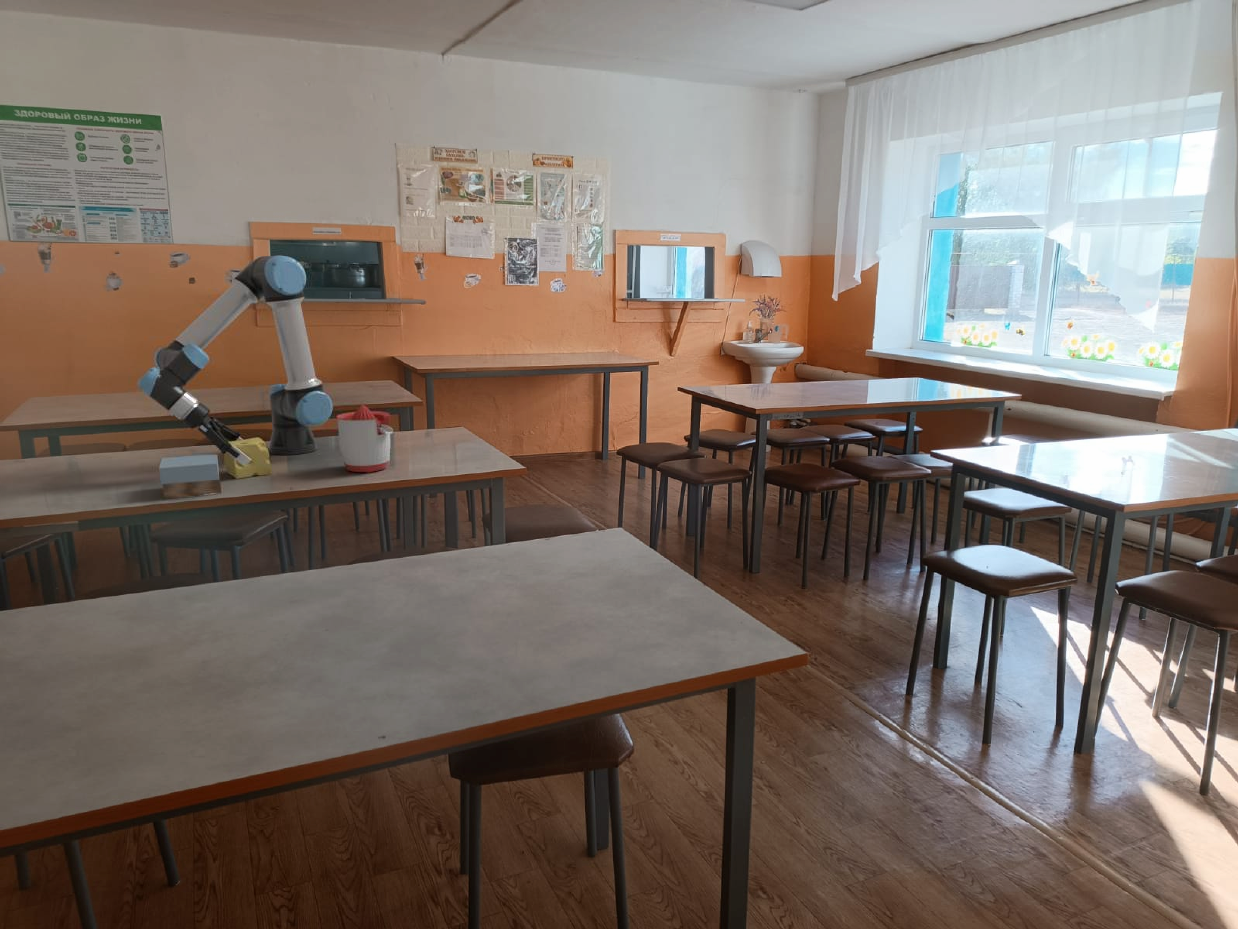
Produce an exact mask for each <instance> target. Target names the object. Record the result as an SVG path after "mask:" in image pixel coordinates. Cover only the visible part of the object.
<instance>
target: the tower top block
mask: <svg viewBox="0 0 1238 929" xmlns="http://www.w3.org/2000/svg"><path fill="white" fill-rule="evenodd" d="M219 469H220V468H219V459H218V453H212V454H211V453H210V454H208V453H207V454H197V455H186V456H185V455H183V456H173V457H171V456H170V457H162V458H161V461H160V464H159V468H158V471H159V480H160V485H161V486H162V485H163V484H174V483H185V482H197V481H208V480H219V477H220V472H219V471H220V470H219Z"/></svg>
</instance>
